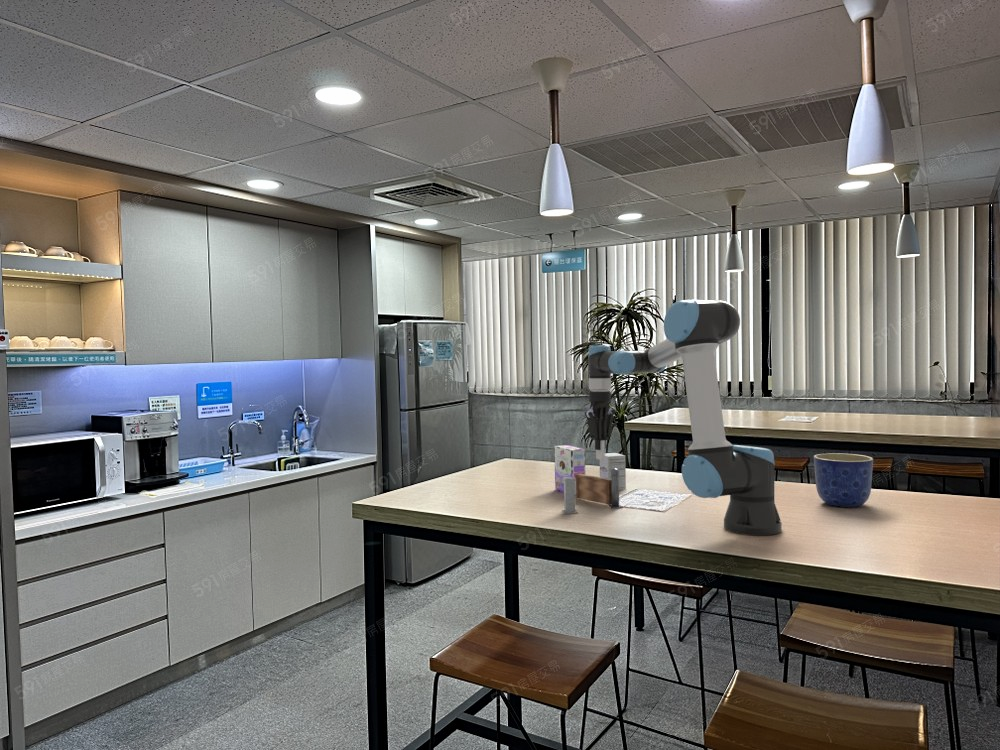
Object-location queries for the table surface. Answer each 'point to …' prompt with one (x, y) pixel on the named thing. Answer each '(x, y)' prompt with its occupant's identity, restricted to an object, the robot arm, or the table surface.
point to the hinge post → (615, 489)
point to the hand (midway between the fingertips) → (600, 458)
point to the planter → (843, 478)
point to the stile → (569, 495)
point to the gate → (593, 489)
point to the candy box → (568, 464)
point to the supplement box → (614, 462)
